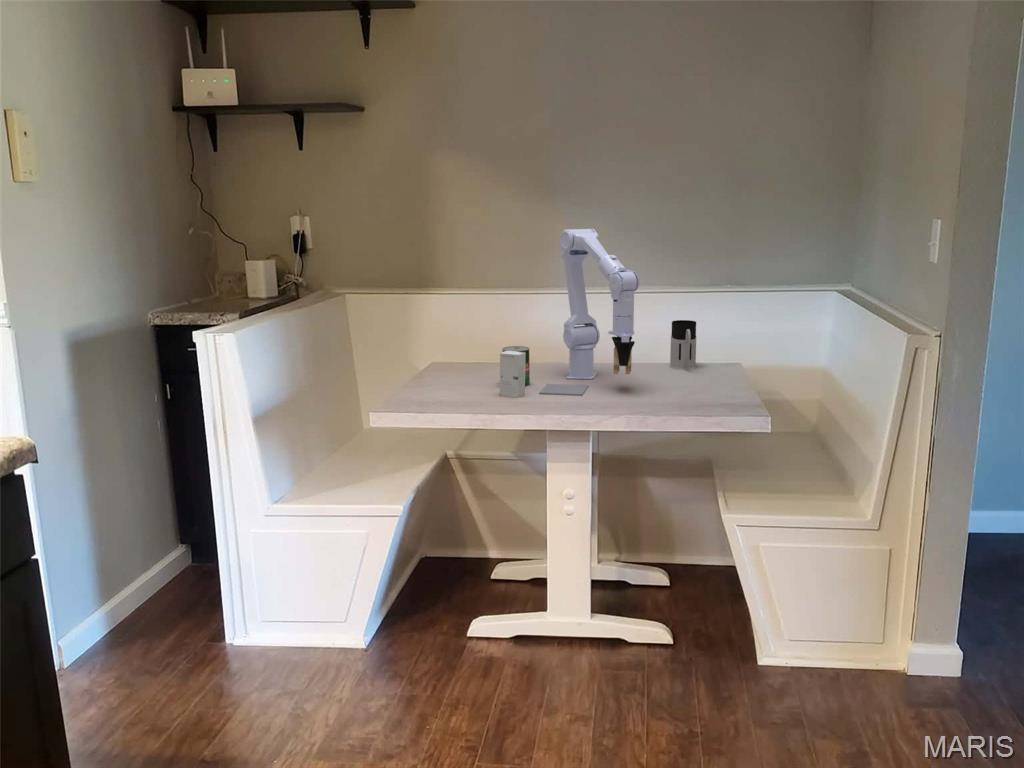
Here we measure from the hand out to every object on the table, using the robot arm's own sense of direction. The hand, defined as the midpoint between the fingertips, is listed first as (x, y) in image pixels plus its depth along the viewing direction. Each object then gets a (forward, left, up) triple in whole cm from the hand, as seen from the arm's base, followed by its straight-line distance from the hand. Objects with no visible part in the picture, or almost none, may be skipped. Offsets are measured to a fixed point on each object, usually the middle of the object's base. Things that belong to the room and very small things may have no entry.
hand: (622, 363), depth 238 cm
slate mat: (+3, -16, -8) cm, 18 cm away
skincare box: (+11, -29, -8) cm, 32 cm away
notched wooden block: (0, 0, -2) cm, 2 cm away
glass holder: (-32, +16, -8) cm, 37 cm away
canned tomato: (-2, -31, -8) cm, 32 cm away
